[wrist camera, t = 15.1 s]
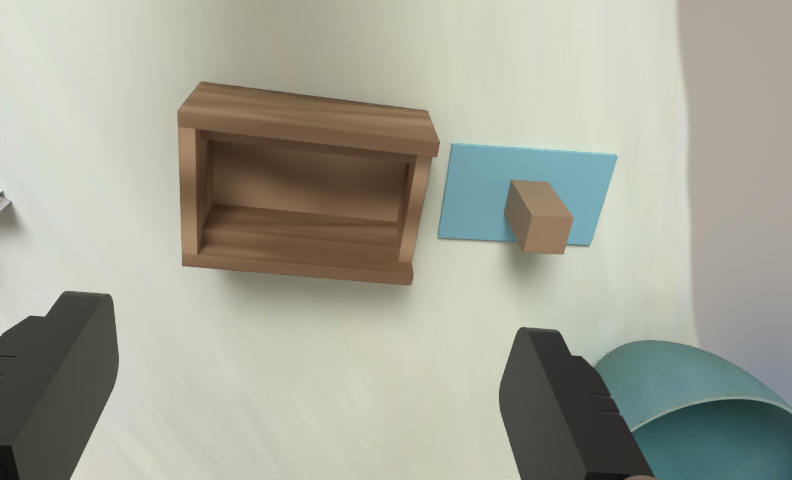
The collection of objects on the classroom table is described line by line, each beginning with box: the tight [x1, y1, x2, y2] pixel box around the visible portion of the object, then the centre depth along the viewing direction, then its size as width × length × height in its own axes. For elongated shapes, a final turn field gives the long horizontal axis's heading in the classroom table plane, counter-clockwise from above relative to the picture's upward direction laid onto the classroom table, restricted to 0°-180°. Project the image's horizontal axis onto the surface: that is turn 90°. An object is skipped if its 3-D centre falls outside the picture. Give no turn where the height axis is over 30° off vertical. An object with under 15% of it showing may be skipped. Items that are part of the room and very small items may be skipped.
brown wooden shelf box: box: [178, 82, 440, 285], centre depth 41 cm, size 11×16×6 cm
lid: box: [438, 143, 617, 254], centre depth 44 cm, size 8×13×7 cm, turn 84°
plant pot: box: [595, 340, 792, 480], centre depth 52 cm, size 18×18×12 cm
